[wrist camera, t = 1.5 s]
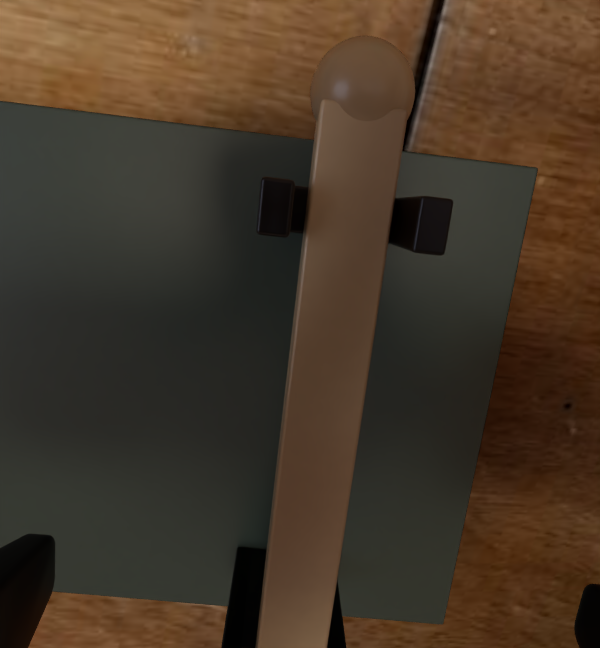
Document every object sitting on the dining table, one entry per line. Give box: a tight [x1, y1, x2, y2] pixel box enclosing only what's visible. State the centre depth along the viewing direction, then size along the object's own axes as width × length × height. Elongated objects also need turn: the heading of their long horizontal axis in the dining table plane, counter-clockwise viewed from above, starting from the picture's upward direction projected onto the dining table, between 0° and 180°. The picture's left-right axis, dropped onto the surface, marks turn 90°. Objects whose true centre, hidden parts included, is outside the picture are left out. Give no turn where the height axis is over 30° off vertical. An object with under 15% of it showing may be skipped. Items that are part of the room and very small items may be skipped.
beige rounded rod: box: [255, 36, 415, 648], centre depth 12 cm, size 2×19×2 cm, turn 173°
